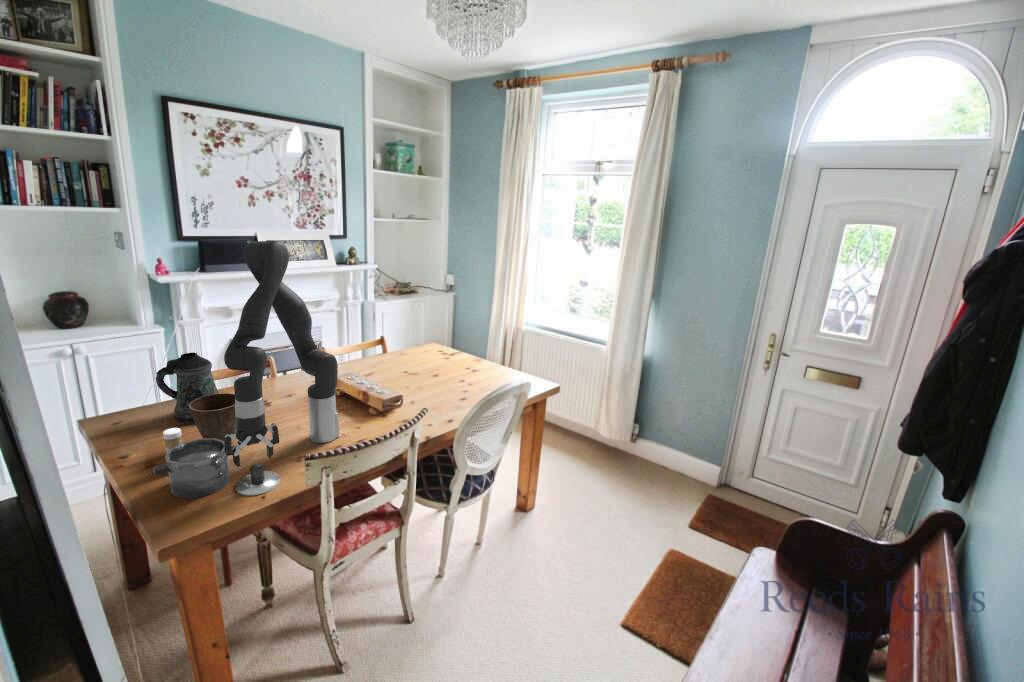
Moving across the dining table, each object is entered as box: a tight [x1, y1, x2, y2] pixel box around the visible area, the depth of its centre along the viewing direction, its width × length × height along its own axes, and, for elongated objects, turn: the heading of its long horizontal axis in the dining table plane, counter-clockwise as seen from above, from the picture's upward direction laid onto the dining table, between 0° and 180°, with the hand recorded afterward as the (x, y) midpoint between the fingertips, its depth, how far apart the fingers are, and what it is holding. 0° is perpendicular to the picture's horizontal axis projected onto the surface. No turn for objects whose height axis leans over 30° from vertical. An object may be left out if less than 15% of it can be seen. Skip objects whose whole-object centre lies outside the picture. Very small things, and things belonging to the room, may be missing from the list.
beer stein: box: [155, 352, 220, 425], centre depth 179 cm, size 16×19×25 cm
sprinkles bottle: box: [162, 427, 183, 455], centre depth 147 cm, size 5×5×14 cm
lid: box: [235, 463, 281, 497], centre depth 143 cm, size 12×12×6 cm
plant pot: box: [189, 392, 237, 444], centre depth 163 cm, size 15×15×16 cm
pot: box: [152, 438, 235, 499], centre depth 141 cm, size 21×15×11 cm
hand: (253, 461), depth 142 cm, fingers open, 8 cm apart
